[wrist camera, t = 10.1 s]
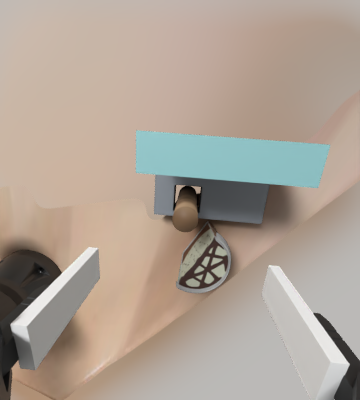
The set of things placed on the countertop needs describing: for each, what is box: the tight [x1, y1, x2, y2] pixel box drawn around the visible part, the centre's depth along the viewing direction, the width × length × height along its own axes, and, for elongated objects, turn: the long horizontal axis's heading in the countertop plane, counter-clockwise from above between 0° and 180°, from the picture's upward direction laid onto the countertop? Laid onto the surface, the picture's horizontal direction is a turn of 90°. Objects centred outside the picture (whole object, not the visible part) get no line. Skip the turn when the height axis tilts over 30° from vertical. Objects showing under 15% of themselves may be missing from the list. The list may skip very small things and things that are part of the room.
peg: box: [172, 186, 198, 232], centre depth 32 cm, size 3×3×14 cm
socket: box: [136, 131, 330, 224], centre depth 29 cm, size 20×14×16 cm
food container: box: [176, 221, 231, 293], centre depth 36 cm, size 12×6×10 cm, turn 146°
